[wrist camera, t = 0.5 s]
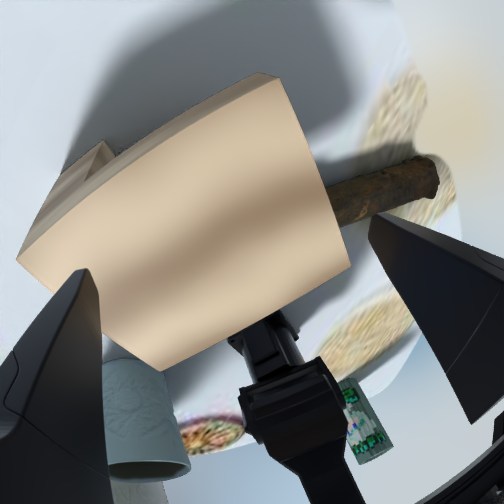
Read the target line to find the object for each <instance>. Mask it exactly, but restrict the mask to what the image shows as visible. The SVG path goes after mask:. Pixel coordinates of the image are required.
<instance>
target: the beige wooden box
mask: <svg viewBox="0 0 504 504" xmlns="http://www.w3.org/2000/svg"><path fill="white" fill-rule="evenodd" d="M16 261H17V262H18V263H19V264H20V265H22V266H23V267H24V268H25V269H26V270H27V271H28V272H29V273H30V274H31V275H32V276H33V277H34V278H36V279H37V280H38V281H39V282H40V283H41V284H42V285H43V286H45V287H46V288H47V289H48V290H49V291H50V292H52V293H53V294H55V293H56V292H57V291H58V289H59V288H60V287H61V286H62V285H63V284H64V282H65V281H66V280H67V279H68V278H69V277H70V275H71V274H72V273H73V272H74V271H75V270H78V269H83V268H87V269H89V271H90V273H91V275H92V277H93V280H94V282H95V285H96V287H97V289H98V293H99V304H100V319H101V332H102V333H103V334H105V335H106V336H107V337H109V338H110V339H112V340H113V341H114V342H116V343H117V344H119V345H120V346H122V347H123V348H124V349H126V350H127V351H129V352H130V353H132V354H133V355H135V356H136V357H138V358H139V359H141V360H142V361H144V362H145V363H147V364H148V365H150V366H152V367H153V368H155V369H156V370H158V371H159V372H161V371H163V370H165V369H167V368H169V367H171V366H173V365H175V364H177V363H179V362H181V361H183V360H185V359H187V358H189V357H191V356H193V355H195V354H197V353H199V352H201V351H203V350H205V349H207V348H209V347H211V346H212V345H214V344H216V343H218V342H220V341H222V340H224V339H226V338H228V337H229V336H231V335H233V334H235V333H237V332H239V331H241V330H242V329H244V328H246V327H248V326H250V325H252V324H253V323H255V322H257V321H259V320H261V319H262V318H264V317H266V316H268V315H270V314H271V313H273V312H275V311H277V310H278V309H280V308H282V307H284V306H285V305H287V304H289V303H291V302H292V301H294V300H296V299H298V298H299V297H301V296H303V295H304V294H306V293H308V292H309V291H311V290H313V289H315V288H316V287H318V286H320V285H321V284H323V283H325V282H326V281H328V280H330V279H331V278H333V277H334V276H336V275H338V274H339V273H341V272H343V271H344V270H346V269H348V268H349V267H351V264H350V260H349V257H348V254H347V251H346V248H345V245H344V242H343V239H342V236H341V233H340V230H339V227H338V224H337V221H336V218H335V215H334V212H333V209H332V206H331V204H330V201H329V198H328V195H327V193H326V190H325V187H324V184H323V182H322V179H321V176H320V174H319V171H318V169H317V166H316V163H315V161H314V158H313V156H312V153H311V151H310V148H309V146H308V143H307V141H306V138H305V136H304V134H303V131H302V129H301V126H300V124H299V122H298V119H297V117H296V115H295V112H294V110H293V108H292V105H291V103H290V101H289V99H288V96H287V94H286V92H285V90H284V88H283V85H282V83H281V81H280V79H279V78H278V77H274V76H270V75H266V74H262V73H258V72H257V73H255V74H253V75H251V76H249V77H247V78H245V79H243V80H241V81H239V82H237V83H235V84H233V85H231V86H229V87H227V88H226V89H224V90H222V91H220V92H218V93H216V94H215V95H213V96H211V97H209V98H207V99H206V100H204V101H202V102H200V103H199V104H197V105H195V106H193V107H192V108H190V109H188V110H187V111H185V112H183V113H182V114H180V115H178V116H177V117H175V118H174V119H172V120H170V121H169V122H167V123H166V124H164V125H162V126H161V127H159V128H158V129H156V130H155V131H153V132H152V133H150V134H149V135H147V136H146V137H144V138H143V139H141V140H140V141H138V142H137V143H135V144H134V145H133V146H131V147H130V148H128V149H127V150H126V151H124V152H123V153H121V154H120V155H119V156H117V157H116V156H115V155H114V154H113V152H112V151H111V150H110V148H109V147H108V146H107V144H106V143H105V142H104V140H103V141H101V142H100V143H99V144H97V145H96V146H95V147H93V148H92V149H91V150H90V151H88V152H87V153H86V154H85V155H83V156H82V157H81V158H80V159H78V160H77V161H76V162H75V163H74V164H72V165H71V166H70V167H69V168H68V169H67V170H65V171H64V172H63V173H62V174H61V175H60V176H59V177H58V179H57V181H56V182H55V184H54V186H53V187H52V189H51V191H50V193H49V194H48V196H47V198H46V200H45V202H44V203H43V205H42V207H41V209H40V211H39V213H38V214H37V216H36V218H35V220H34V222H33V224H32V226H31V228H30V230H29V232H28V234H27V236H26V238H25V241H24V243H23V245H22V247H21V249H20V251H19V254H18V256H17V258H16Z"/></svg>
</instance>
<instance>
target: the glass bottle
mask: <svg viewBox="0 0 504 504" xmlns="http://www.w3.org/2000/svg"><path fill="white" fill-rule="evenodd" d="M110 481H111V480H110ZM111 488H112V494H113V500H114V504H168V500H167V496H166V494H165V490H164V486H163V482H162V481H159V482H150V483H124V482H116V481H111Z"/></svg>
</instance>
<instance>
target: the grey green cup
mask: <svg viewBox="0 0 504 504" xmlns="http://www.w3.org/2000/svg"><path fill="white" fill-rule="evenodd" d="M102 387H103V412H104V427H105V439H106V450H107V459H108V467H109V475H110V478H109V479H110V480H111V481H116V482H124V483H150V482H159V481H166V480H170V479H174V478H178V477H181V476H183V475H185V474H187V473H188V472H190V470H191V464H190V461H189V458H188V455H187V452H186V449H185V447H184V443H183V440H182V437H181V433H180V430H179V427H178V424H177V420H176V417H175V416H174V414H173V411H174V410H173V407H172V403H171V400H170V396H169V393H168V389H167V385H166V381H165V377H164V373H163V372H162V371H161V372H159V371H158V370H156V369H155V368H153V367H152V366H150V365H148V364H147V363H145V362H144V361H142V360H136V359H116V360H112V361H109V362H106V363H104V364H103V365H102Z"/></svg>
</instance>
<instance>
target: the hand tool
mask: <svg viewBox="0 0 504 504" xmlns="http://www.w3.org/2000/svg"><path fill="white" fill-rule="evenodd" d="M439 184H440V181H439V176H438V174H437V170H436V166H435V163H434V162H433V161H432V160H430V159H428V158H423V157H421V156H414V157H413V159H412V161H410V160H402V163H401V164H400V165H397V166H395V167H390V168H386V169H383V170H382V171H379V172H376V173H372V174H369V175H359V176H358V177H357V178H355V179H352V180H348V181H344V182H342V183H340V184H337V185H334V186H330V187H327V188H325V190H326V193H327V195H328V198H329V201H330V204H331V206H332V209H333V212H334V215H335V218H336V221H337V224H338V227H343V226H346V225H349V224H352V223H355V222H357V221H360V220H362V219H365V218H369V217H371V216H373V215H374V214H376V213H382V212H385V211H387V210H390V209H393V208H396V207H398V206H401V205H404V204H406V203H409V202H411V201H414V200H419V199H421V198H424V197H425V198H428V199H434V197H435V196H436V193H437V190H438V185H439Z"/></svg>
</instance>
